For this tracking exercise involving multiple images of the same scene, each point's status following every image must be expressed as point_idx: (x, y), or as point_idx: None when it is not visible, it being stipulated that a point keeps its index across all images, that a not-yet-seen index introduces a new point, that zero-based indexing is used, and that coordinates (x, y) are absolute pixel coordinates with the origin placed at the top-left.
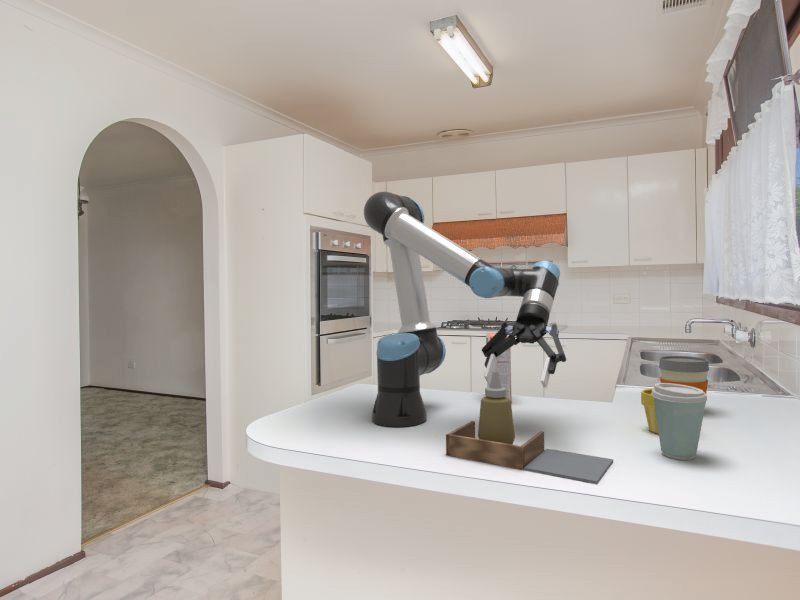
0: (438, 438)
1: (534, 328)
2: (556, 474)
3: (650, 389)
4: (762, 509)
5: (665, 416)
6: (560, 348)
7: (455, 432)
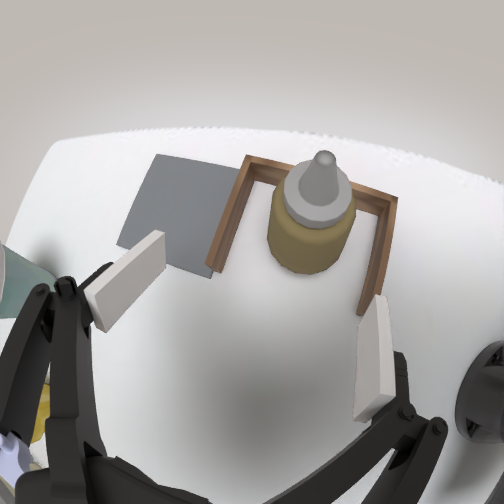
0: (422, 304)
1: (61, 493)
2: (202, 162)
3: None
4: (54, 157)
5: (20, 261)
6: (26, 311)
7: (387, 220)
